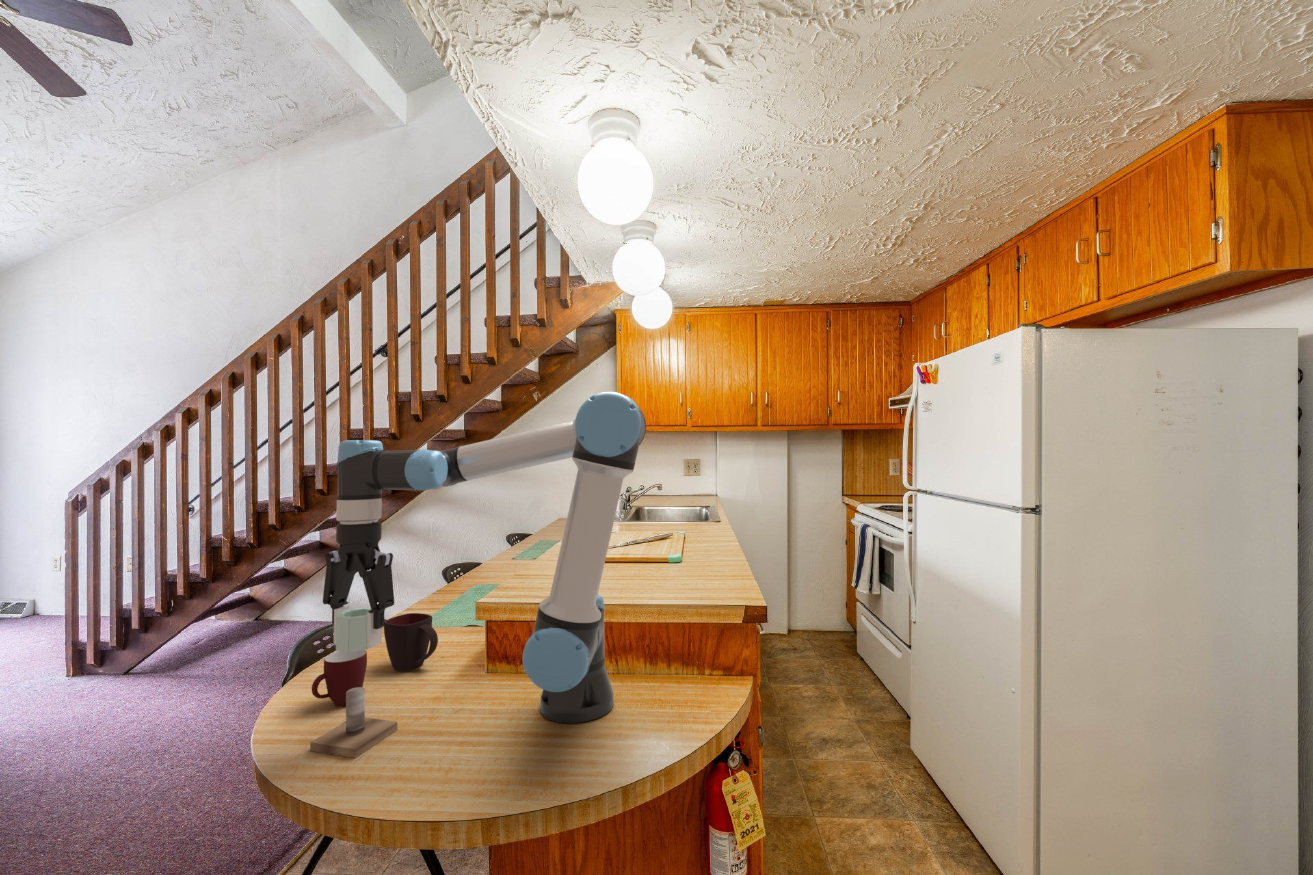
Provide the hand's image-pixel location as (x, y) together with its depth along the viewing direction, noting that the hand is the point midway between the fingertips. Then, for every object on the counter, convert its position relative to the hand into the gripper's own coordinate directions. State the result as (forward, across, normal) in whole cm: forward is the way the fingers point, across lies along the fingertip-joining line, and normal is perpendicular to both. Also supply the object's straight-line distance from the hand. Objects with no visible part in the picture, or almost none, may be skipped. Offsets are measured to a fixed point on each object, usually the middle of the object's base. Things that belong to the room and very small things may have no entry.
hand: (357, 643), depth 100 cm
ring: (0, 0, 0) cm, 0 cm away
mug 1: (+18, +15, -10) cm, 25 cm away
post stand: (+17, 0, 0) cm, 17 cm away
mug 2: (+18, +14, -31) cm, 38 cm away
